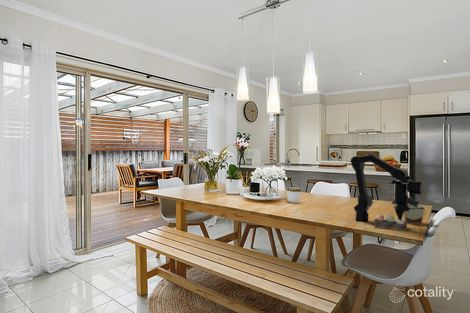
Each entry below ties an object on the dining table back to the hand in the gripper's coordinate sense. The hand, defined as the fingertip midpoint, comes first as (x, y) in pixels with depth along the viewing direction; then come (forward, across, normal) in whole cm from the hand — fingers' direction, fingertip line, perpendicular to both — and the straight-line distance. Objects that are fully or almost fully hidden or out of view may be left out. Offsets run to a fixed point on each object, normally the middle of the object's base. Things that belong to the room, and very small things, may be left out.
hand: (400, 220), depth 154 cm
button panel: (+4, 0, +5) cm, 7 cm away
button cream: (+3, 0, 0) cm, 3 cm away
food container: (+5, +17, -8) cm, 19 cm away
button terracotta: (+2, 0, +10) cm, 10 cm away
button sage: (+2, 0, +5) cm, 5 cm away
